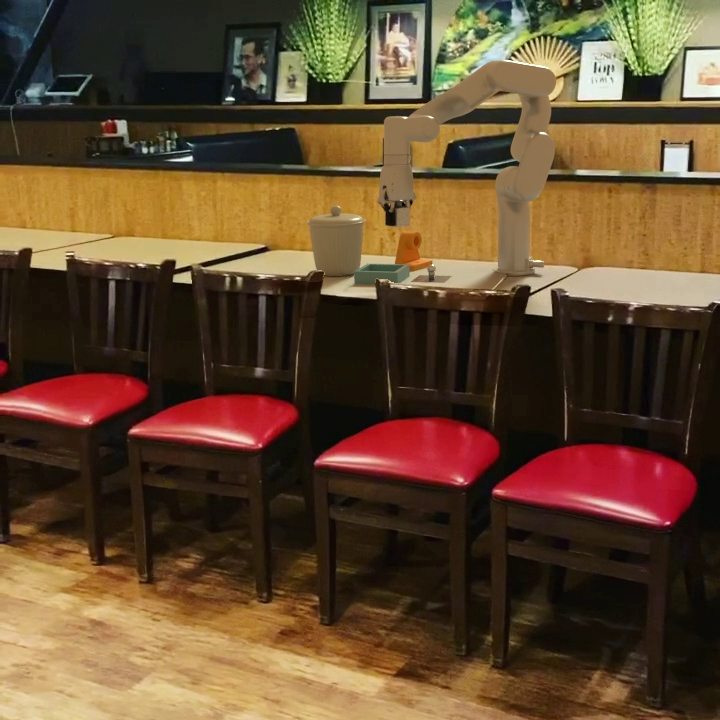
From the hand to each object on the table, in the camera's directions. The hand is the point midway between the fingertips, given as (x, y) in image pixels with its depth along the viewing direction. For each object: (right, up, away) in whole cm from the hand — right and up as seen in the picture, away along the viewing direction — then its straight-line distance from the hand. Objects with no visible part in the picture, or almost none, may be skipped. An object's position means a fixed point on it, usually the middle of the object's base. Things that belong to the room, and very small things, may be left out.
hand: (397, 224), depth 303 cm
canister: (-17, -13, +22) cm, 31 cm away
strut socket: (0, -1, 0) cm, 1 cm away
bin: (-4, -17, +5) cm, 18 cm away
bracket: (+6, -12, +24) cm, 27 cm away
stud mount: (+10, -16, +4) cm, 20 cm away
